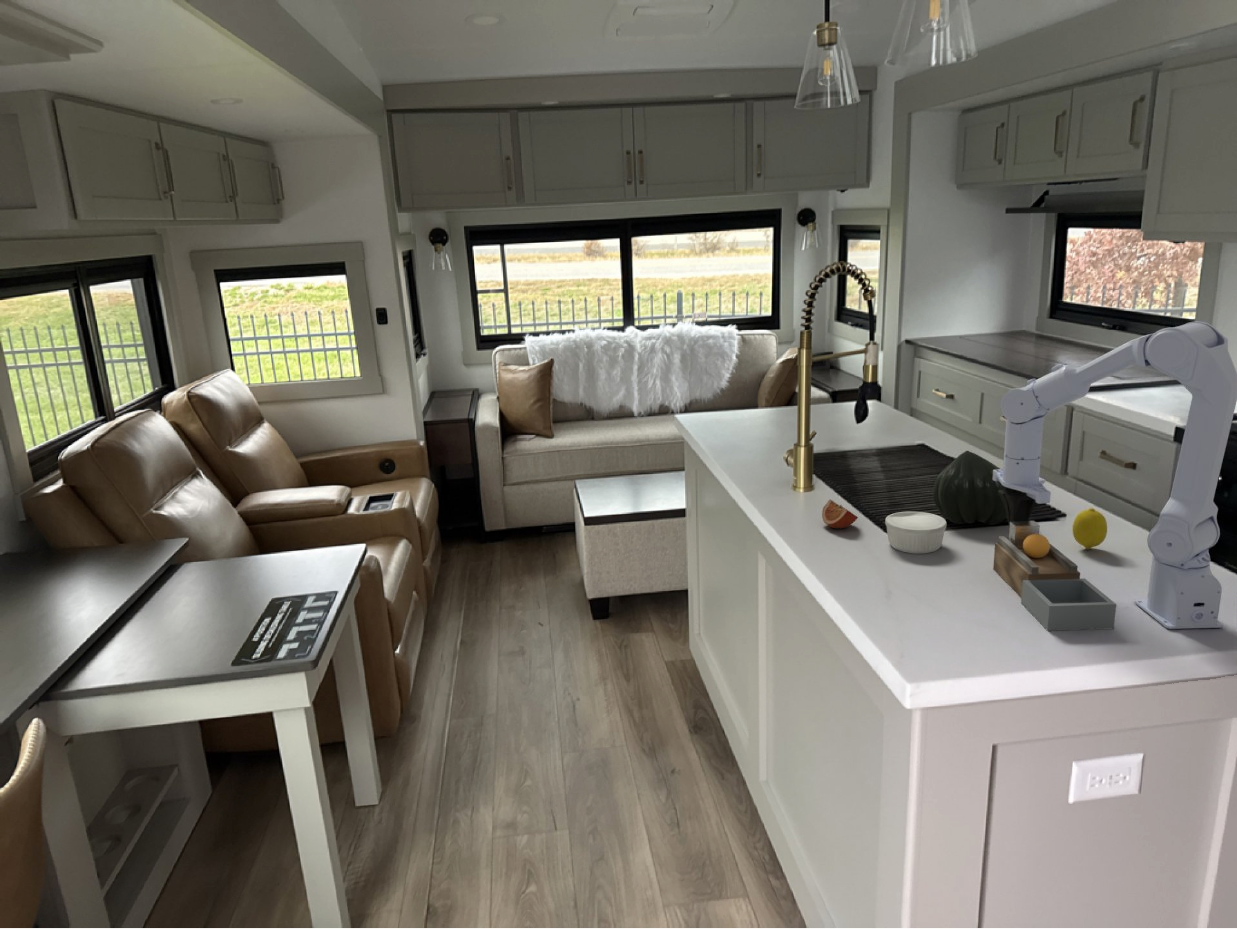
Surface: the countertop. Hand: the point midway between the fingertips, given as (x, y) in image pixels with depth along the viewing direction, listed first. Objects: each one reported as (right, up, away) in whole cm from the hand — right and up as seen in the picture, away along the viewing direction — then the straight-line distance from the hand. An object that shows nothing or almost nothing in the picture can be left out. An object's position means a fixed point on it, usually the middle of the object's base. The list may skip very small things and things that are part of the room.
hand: (1017, 530), depth 146 cm
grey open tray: (-1, -12, -17) cm, 21 cm away
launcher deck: (0, -9, -6) cm, 11 cm away
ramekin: (-13, -4, +14) cm, 20 cm away
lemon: (+17, -4, +7) cm, 19 cm away
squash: (+3, 0, +26) cm, 26 cm away
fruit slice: (-24, -2, +27) cm, 36 cm away
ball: (0, -2, -8) cm, 8 cm away
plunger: (0, -2, -2) cm, 3 cm away
